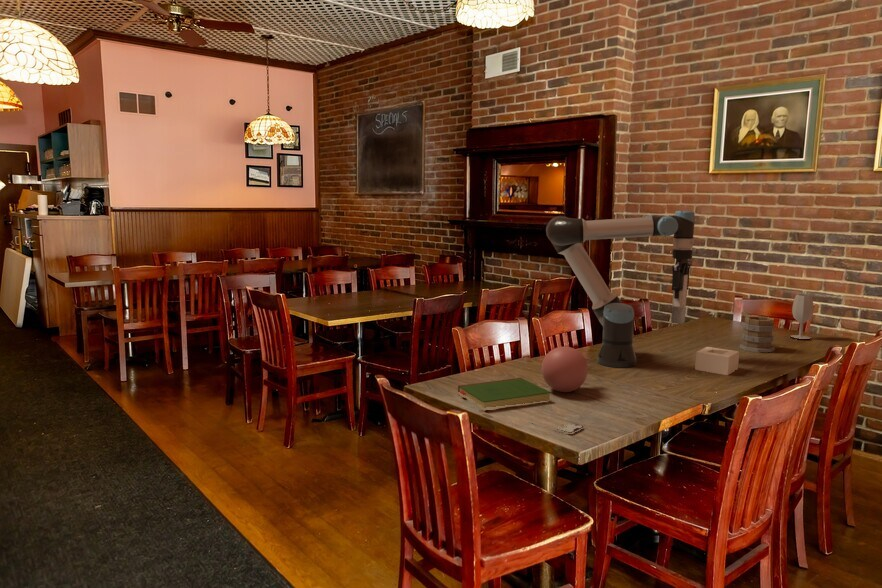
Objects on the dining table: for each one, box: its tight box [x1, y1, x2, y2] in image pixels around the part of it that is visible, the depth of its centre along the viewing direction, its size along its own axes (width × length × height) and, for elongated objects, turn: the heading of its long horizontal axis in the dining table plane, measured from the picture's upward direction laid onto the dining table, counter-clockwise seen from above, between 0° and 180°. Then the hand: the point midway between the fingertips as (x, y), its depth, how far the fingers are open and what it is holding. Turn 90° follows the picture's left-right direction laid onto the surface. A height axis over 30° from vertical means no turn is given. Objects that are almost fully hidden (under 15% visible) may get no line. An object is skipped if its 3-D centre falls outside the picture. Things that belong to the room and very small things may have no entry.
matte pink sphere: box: [541, 346, 591, 393], centre depth 212 cm, size 15×20×15 cm
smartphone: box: [557, 422, 584, 433], centre depth 179 cm, size 7×1×15 cm
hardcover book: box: [457, 377, 552, 408], centre depth 204 cm, size 25×19×4 cm
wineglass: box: [790, 293, 815, 340], centre depth 293 cm, size 9×9×21 cm
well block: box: [694, 346, 740, 376], centre depth 239 cm, size 12×12×7 cm
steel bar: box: [671, 275, 688, 325], centre depth 255 cm, size 4×4×20 cm
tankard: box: [739, 311, 775, 353], centre depth 275 cm, size 20×13×15 cm, turn 179°
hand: (679, 305), depth 256 cm, fingers closed on steel bar, 4 cm apart
